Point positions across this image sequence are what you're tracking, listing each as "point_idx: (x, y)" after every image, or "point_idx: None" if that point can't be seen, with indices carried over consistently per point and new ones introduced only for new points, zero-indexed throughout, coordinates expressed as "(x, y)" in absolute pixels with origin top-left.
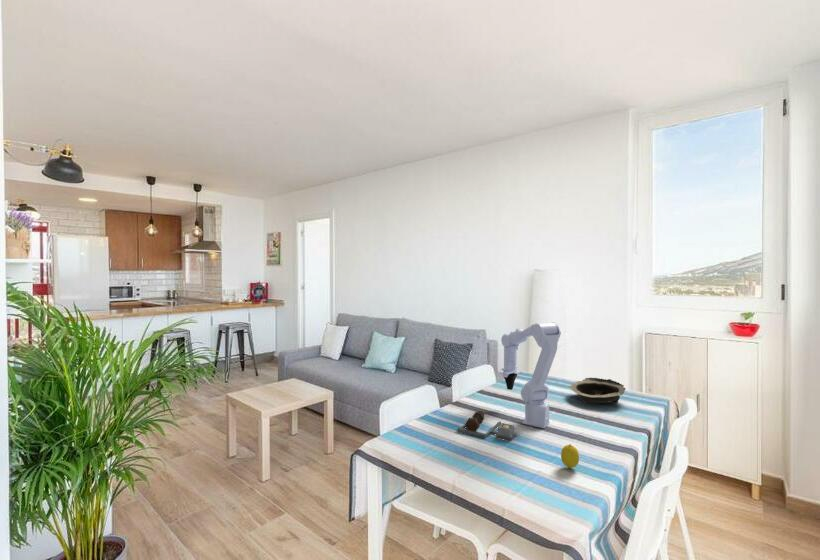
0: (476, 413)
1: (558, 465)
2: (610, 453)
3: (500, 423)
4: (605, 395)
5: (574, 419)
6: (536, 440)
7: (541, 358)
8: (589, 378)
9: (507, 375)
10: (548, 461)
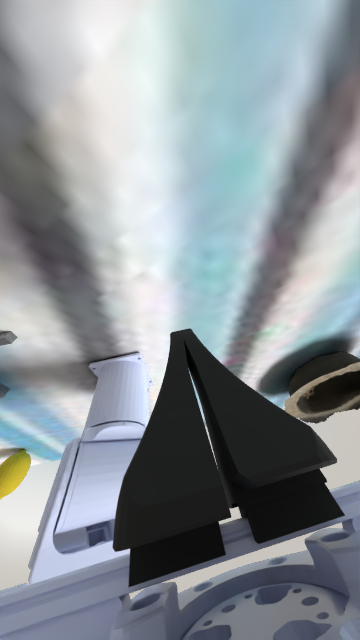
0: None
1: (11, 445)
2: None
3: (4, 343)
4: (294, 411)
5: None
6: (46, 408)
7: None
8: None
9: (81, 578)
10: (3, 440)
